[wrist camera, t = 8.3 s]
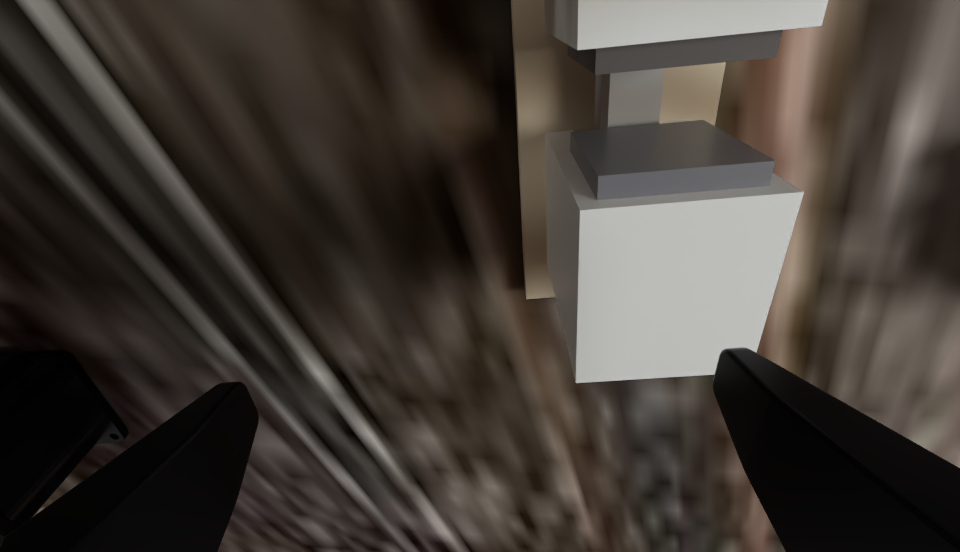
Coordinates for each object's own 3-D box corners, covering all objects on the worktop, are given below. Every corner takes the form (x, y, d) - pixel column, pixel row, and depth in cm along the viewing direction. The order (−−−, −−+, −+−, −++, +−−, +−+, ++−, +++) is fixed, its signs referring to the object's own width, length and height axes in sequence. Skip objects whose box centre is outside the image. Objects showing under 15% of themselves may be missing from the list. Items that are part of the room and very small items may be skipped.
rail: (678, 275, 21) (756, 388, 15) (524, 286, 21) (540, 401, 15) (758, -223, 12) (1010, -423, 6) (501, -189, 13) (517, -349, 7)
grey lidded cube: (666, 254, 19) (750, 372, 13) (547, 263, 19) (575, 383, 13) (688, 101, 16) (811, 165, 10) (544, 115, 16) (580, 185, 10)
